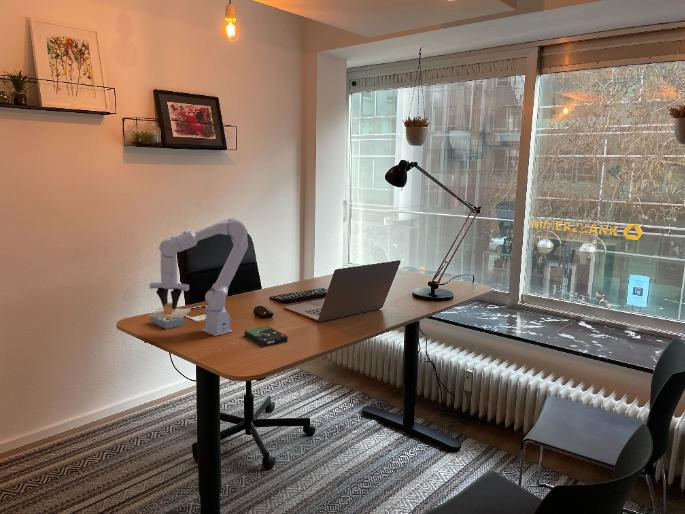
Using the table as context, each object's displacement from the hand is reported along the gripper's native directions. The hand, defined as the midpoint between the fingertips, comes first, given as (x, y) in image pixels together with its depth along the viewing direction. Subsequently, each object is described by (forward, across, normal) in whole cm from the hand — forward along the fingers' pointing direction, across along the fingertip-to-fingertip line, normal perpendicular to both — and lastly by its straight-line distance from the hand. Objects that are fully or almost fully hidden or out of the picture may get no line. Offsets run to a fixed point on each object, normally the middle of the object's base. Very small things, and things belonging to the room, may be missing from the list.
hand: (170, 308), depth 198 cm
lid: (+2, 0, 0) cm, 2 cm away
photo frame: (+11, 0, -29) cm, 31 cm away
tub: (+10, +7, -12) cm, 18 cm away
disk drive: (+11, -36, -4) cm, 37 cm away
